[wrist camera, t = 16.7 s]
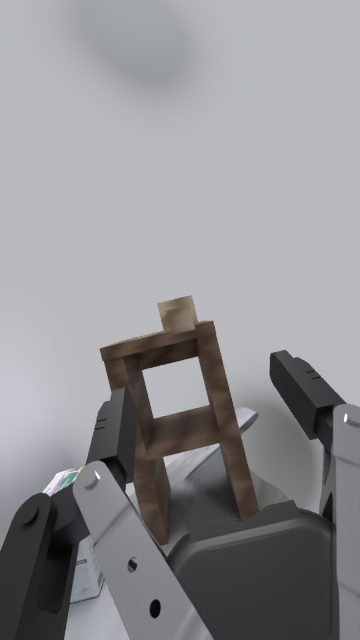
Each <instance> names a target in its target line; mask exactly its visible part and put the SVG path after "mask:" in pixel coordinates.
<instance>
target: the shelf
mask: <svg viewBox="0 0 360 640" xmlns="http://www.w3.org/2000/svg"><path fill="white" fill-rule="evenodd" d="M194 326H195V329H194V330H190V331H186V332H182V333H178V334H174V335H171V332H170V331H166V332H164V331H161V332H157V333H153V334H148V335H144V336H140V337H136V338H133V339H128V340H124V341H120V342H117V343H114V344H111V345H109V346H106V347H103V348H100V352H101V356H102V360H103V361H104V363H105V367H106V372H107V376H108V380H109V384H110V388H111V392H112V390H114V389H118V388H122V387H128V389H129V391H130V393H131V395H132V398H133V400H134V402H135V404H136V408H137V429H136V446H135V463H134V480H133V483H134V487H135V492H136V496H137V500H138V504H139V508H140V512H141V516H142V519H143V521H144V522H145V524H146V525H147V527H148V528H149V530H150V532H151V533H152V535H153V536H154V537H155V539H156V540H157V542H158V544H159V545H164V544H168V532H169V511H170V490H171V488H170V484H169V480H168V476H167V472H166V468H165V464H164V460H163V457H164V456H168V455H173V454H177V453H181V452H185V451H189V450H193V449H197V448H201V447H205V446H209V445H213V444H217V443H219V444H220V448H221V453H222V457H223V461H224V465H225V469H226V473H227V477H228V480H229V483H230V486H231V489H232V492H233V495H234V499H235V502H236V505H237V508H238V511H239V514H240V518H241V521H245V520H247V519H249V518H250V517H252V516H253V515H255V514H256V513H258V512H259V508H258V504H257V500H256V496H255V492H254V488H253V484H252V480H251V476H250V472H249V468H248V463H247V459H246V456H245V451H244V447H243V443H242V439H241V435H240V431H239V427H238V423H237V419H236V414H235V410H234V406H233V402H232V398H231V394H230V390H229V386H228V382H227V378H226V374H225V370H224V365H223V362H222V357H221V353H220V350H219V345H218V341H217V337H216V331H215V327H214V323H213V321H202V322H198V324H195V325H194ZM197 356H198V358H199V362H200V366H201V371H202V375H203V379H204V383H205V387H206V391H207V395H208V399H209V403H210V405H208V406H204V407H200V408H196V409H192V410H188V411H184V412H179V413H176V414H171V415H168V416H163V417H160V418H155V419H154V418H153V415H152V411H151V406H150V402H149V398H148V394H147V390H146V386H145V381H144V377H143V373H142V370H144V369H148V368H152V367H156V366H160V365H165V364H169V363H173V362H177V361H181V360H185V359H189V358H193V357H197Z"/></svg>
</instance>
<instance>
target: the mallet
mask: <svg viewBox="0 0 360 640" xmlns="http://www.w3.org/2000/svg"><path fill="white" fill-rule="evenodd" d="M158 308H159V312H160V317H161V321H162V325H163V329H164V332H166V331H170V332H171V335H174V334H178V333H182V332H186V331H190V330H194V329H195V326H194V325H195V324H198V320H197V316H196V312H195V308H194V303H193V299H192V296H186V297H182V298H178V299H174V300H170V301H166V302H161V303H158Z"/></svg>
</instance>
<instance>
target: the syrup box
mask: <svg viewBox="0 0 360 640" xmlns="http://www.w3.org/2000/svg"><path fill="white" fill-rule="evenodd" d="M84 467H85V466H82V467H77V468H72V469H69V470H66V471H63V472H60V473H57V474H56V475H55V477H54V479H53V480H52V481H51V483H50V484H49V485H48V486H47V487H46V488H45V490H44V491H43V492H42V493H46V494H48V495H49V496H51V495H53V494H54V493H56V492H58V491H60V490H61V489H63V488H65V487H66V486H68V485H69V484H71V483H72V482H73V481H75V479H76V477H77V475H78V473H79V472H80V471H81V470H82V469H83V468H84ZM93 545H94V541H93V538H92V536H91V535H89V536H88V537H86V538H85V539H83V540H82V541H80V543H79V550H78V556H77V562H76V568H75V574H74V580H73V586H72V593H71V599H70V603H73V602H77V601H81V600H85V599H89V598H93V597H96V596H99V594H100V590H101V586H102V583H103V580H104V576H103V573H102V571H101V569H100V566H99V564H98V561H97V559H96V556H95V554H94V550H93Z"/></svg>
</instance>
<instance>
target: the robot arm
mask: <svg viewBox="0 0 360 640" xmlns="http://www.w3.org/2000/svg"><path fill="white" fill-rule="evenodd" d="M270 378H271V381H272V383H273V385H274V386H275V388H276V389H277V390H278V392H279V393H280V395H281V397H282V398H283V400H284V401H285V403H286V404H287V406H288V407H289V409H290V411H291V412H292V414H293V415H294V417H295V418H296V419H297V421H298V423H299V424H300V426H301V427H302V428H303V430H304V432H305V433H306V435H307V436H308V438H309V439H310V440H312V439H317V438H318V439H319V440H320V442H321V443H322V444H323V446H324V447H323V471H322V491H321V498H320V507H319V514H317V513H314V512H312V511H309V510H305V509H302V508H297V506H296V504H295V502H294V500H291V501H286V502H282V503H278V504H274V505H269V506H267V507H265V508H264V509H262V510H261V511H259V512H258V513H256V514H255V515H253V516H252V517H250V518H249V519H247V520H245V521H232V520H223V519H210V520H205V521H201V522H197V523H193V524H188V528H189V533H188V534H186V535H185V536H184V537H182V538H181V539H180V540H179V541H178V542H177V543H176V545H175V546H174V547H173V549H172V550H171V551H170V553H169V555H168V556H166V554H165V553H164V551H163V550H162V548H161V547H160V545H159V544H158V542H157V540H156V539H155V537H154V536H153V535H152V533H151V532H150V530H149V528H148V527H147V525H146V524H145V522H144V521H143V519H142V518H141V516H140V514H139V513H138V511H137V510H136V508H135V507H134V505H133V503H132V502H131V500H130V499H129V497H128V496H127V494H126V493H125V489H126V484H127V483H132V482H133V480H134V463H135V446H136V429H137V408H136V404H135V402H134V400H133V398H132V395H131V393H130V391H129V389H128V387H122V388H118V389H114V390H112V394H111V399H110V401H106V402H104V403H103V405H102V407H101V408H100V410H99V412H98V416H97V420H96V421H97V422H96V424H95V428H94V429H95V431H94V432H93V437H92V441H91V445H90V449H89V453H88V457H87V461H86V465H85V467H84V468H83V469H82V470H81V471H80V472H79V473H78V475H77V477H76V479H75V481H73V482H72V483H71V484H69V485H68V486H66V487H65V488H63V489H61V490H60V491H58V492H56V493H54V494H53V495H51V496H49V495H48V494H46V493H38V494H35V495H33V496H32V497H30V498H29V499H28V500H26V502H24V504H22V505H21V507H20V508H19V509H18V511H17V512H16V514H15V516H14V518H13V520H12V522H11V525H10V528H9V530H8V533H7V535H6V538H5V541H4V543H3V546H2V549H1V551H0V640H64V636H65V630H66V623H67V617H68V611H69V605H70V599H71V593H72V586H73V580H74V574H75V568H76V562H77V556H78V550H79V543H80V541H82V540H83V539H85V538H86V537H88V536H89V535H91V536H92V538H93V541H94V545H93V550H94V554H95V556H96V559H97V561H98V564H99V566H100V569H101V571H102V573H103V576H104V578H105V581H106V583H107V585H108V588H109V590H110V593H111V595H112V597H113V600H114V602H115V605H116V607H117V609H118V612H119V614H120V617H121V619H122V621H123V624H124V626H125V629H126V631H127V633H128V636H129V638H130V640H360V407H358V406H355V405H351V404H347V403H346V402H345V401H344V400H343V399H342V398H341V397H340V396H339V395H338V394H337V393H336V392H335V391H334V390H333V389H332V388H331V387H330V386H329V384H327V382H326V381H325V380H324V379H323V378H321V376H320V375H319V374H318V373H317V372H315V370H314V369H313V368H312V367H311V366H310V364H308V363H307V362H306V361H304V360H302V359H300V358H298V357H296V358H293V357H292V356H291V355H290V354H289V353H288V352H287V351H286V350H283V351H279V352H274V353H271V355H270Z"/></svg>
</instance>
